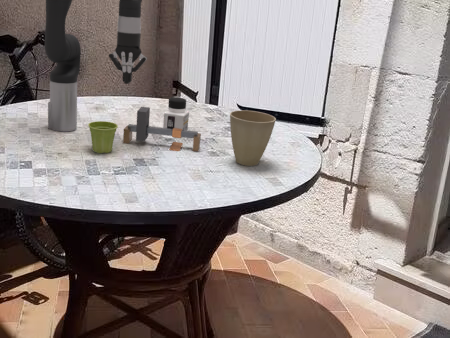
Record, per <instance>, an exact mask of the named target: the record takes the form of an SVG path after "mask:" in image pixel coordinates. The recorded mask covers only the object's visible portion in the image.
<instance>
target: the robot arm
mask: <svg viewBox="0 0 450 338" xmlns="http://www.w3.org/2000/svg"><path fill="white" fill-rule="evenodd" d="M142 1H143V0H119V2H118V18H117V31H116V32H117V35H116V47H115V50H114V51H113V52H112V53H109V54H108V57H109V59H110V61H112V63H113V65H114V66H115V67H116V69H117V70H118V71H121V72H122V82H123V83H124V84H126V85H129V84H130V83H132V81H133V72H137V71H138V70H139V69H140V68H141V67H142V66H143V64H144V63H145V62H146V61H147V60H148V57H147V56H145V55H143V53H142V49H141V35H142V34H141V32H142V19H141V16H142V15H141V13H142V3H143V2H142ZM72 2H73V0H45V28H44V29H45V32H44V52H45V55H46V56H47V58H48V59H49V61H51V62H52V63H56V66H55V67H54V69H53V70H51V71H50V73H49V101H48V103H47V128H48V130H53V131H56V132H72V131H76V130H77V128H78V127H77V125H78V77H79V74H80V69H81V57H82V56H81V55H82V54H81V53H82V52H81V51H82V50H81V44H80V41H79V39H78V37H76V36H75V35H74V34H71V33H66V21H67V20H66V19H67V15H68V13H69V10H70V8H71V5H72ZM118 58H119V59H118ZM137 59H138V63H137V64H136V65H135V66H134V64H135V62H136V61H137ZM119 60H120V61H121V62H120V61H119Z"/></svg>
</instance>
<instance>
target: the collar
mask: <svg viewBox="0 0 450 338" xmlns="http://www.w3.org/2000/svg"><path fill="white" fill-rule="evenodd" d="M150 111H151V107H147V106H140V107H139V109H138V110H136V125H137V126H136V132H135V141H137V142H143V143H144V142H146V140H147V139H148V137H149V135H150V134H149V133H146V126H150V113H151V112H150Z"/></svg>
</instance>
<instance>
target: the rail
mask: <svg viewBox="0 0 450 338" xmlns="http://www.w3.org/2000/svg"><path fill="white" fill-rule="evenodd" d="M136 126H137V124H131V123H129V124H128V125H127V124H126V126H125V127H124V128H123V140H122V141H123V143H122V144H128V145H129V144H130V143H132V141H133V133H136ZM146 133H149V134H148V135H150V134H151V135H159V136H169V137H171V138H176V139H182V138H186V139H188V138H189V139H192V140H193V143H192V151H193V152H199V151H200V147H201V136H202V133H199V131H195V130H182V129H179V128H173V129H169V128H163V127H158V126H152V125H151V126H150V125H149V126H146ZM183 144H184V143H183V142H178V141H172V143H171V146H170V147H169V151H176V152H180V151H181V148H183Z"/></svg>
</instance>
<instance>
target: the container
mask: <svg viewBox="0 0 450 338" xmlns="http://www.w3.org/2000/svg"><path fill="white" fill-rule="evenodd" d="M167 108H168V109H167V110H166V111H165V112H163V122H162V123H163V124H162V128H169V129H173V128H179V129H182V130H188V129H189V117H190V111H189V110H187V99H186V98H184V97H181V96H172V97H169V98H168V105H167ZM188 131H189V130H188Z"/></svg>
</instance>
